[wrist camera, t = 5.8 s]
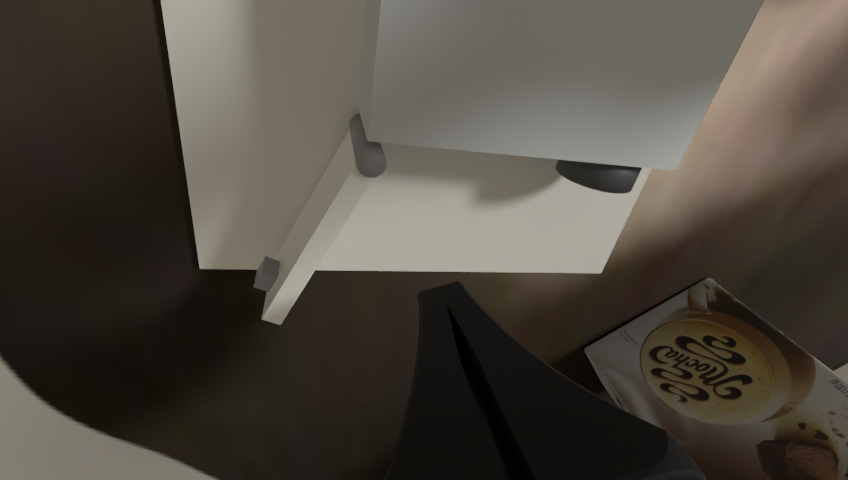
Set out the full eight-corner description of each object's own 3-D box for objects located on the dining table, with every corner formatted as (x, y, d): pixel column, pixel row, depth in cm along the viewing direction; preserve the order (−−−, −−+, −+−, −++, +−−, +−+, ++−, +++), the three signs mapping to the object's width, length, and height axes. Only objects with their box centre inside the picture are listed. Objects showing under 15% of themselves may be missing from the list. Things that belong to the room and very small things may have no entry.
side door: (344, 101, 14) (350, 134, 11) (378, 121, 15) (392, 158, 12) (258, 256, 17) (243, 318, 14) (289, 268, 18) (282, 329, 15)
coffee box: (605, 390, 29) (837, 725, 16) (580, 345, 26) (851, 728, 13) (721, 328, 28) (1074, 635, 15) (711, 272, 25) (1163, 610, 11)
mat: (753, -58, 15) (761, -58, 15) (598, 270, 22) (601, 273, 22) (128, -248, 10) (123, -255, 9) (201, 264, 17) (199, 268, 17)
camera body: (689, -60, 14) (824, -75, 10) (599, 161, 18) (671, 208, 14) (378, -151, 11) (406, -218, 7) (354, 137, 15) (365, 188, 12)
